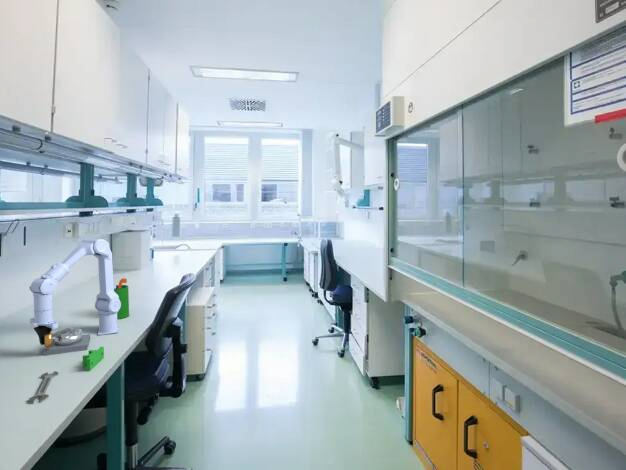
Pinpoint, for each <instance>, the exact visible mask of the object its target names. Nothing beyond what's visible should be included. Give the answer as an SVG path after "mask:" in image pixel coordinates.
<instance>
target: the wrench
mask: <svg viewBox="0 0 626 470" xmlns="http://www.w3.org/2000/svg"><path fill="white" fill-rule="evenodd" d="M57 376H59V372H58V371H55V370H54V371H53V373H49V372H45V373H42V374H41V375H40V378H41V379H43V380H42V382H41V384H40V386H39V388H38V390H37V392H36V394H35V395H33V396H31V397H29V398H28V402H29V404H31V405H32V404H35V401H37V400H39V399H40V402H41V403H43V402H45V401H47V399H49V397H50V396H49V394H47V390H48V388H49V386H50V384H51V382H52V379H53V378H56V377H57Z"/></svg>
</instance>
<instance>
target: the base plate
mask: <svg viewBox="0 0 626 470" xmlns="http://www.w3.org/2000/svg"><path fill="white" fill-rule="evenodd" d="M90 342H91V334H88V333H87V334H82V340H81V341H80V342H78V343H75V344H71V345H65V346H58V345H55V338H52V345H53V346H52V347H50V348H45V347H44V350H43V356H44V357H45V356H51V355H59V354H65V353H73V352H80V351H86V350H88V349H89V345H90Z"/></svg>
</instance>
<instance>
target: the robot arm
mask: <svg viewBox="0 0 626 470" xmlns="http://www.w3.org/2000/svg"><path fill="white" fill-rule="evenodd" d="M91 255H92V256H94V257H96V258H97V259H98V261H97V262H98V281H99V293H97V295H96V297H95V298H96V299H95V303H94V308H95V310H97V313H98V324H99V325H98V326H99V328H98V333H97V335H98V336H100V335H101V336H102V335H109V334H116V333H117V334H118V333H119V327H120V326H119V325H118V319H117V312H118V311H119V309H120V307H121V302H120V300H119V296H118V295H117V294H116V293H115V292H114V289H115V288H114V287H115V286H114V267H113V265H114V264H113V253H112V251H111V248H110V243H109V241H107V240H105V239H103V238H89V237H85V238H83V239H82V240H81V241H80V242H78V243H77V245H76V247H75V248H74V249H73V251H72V252H70V253H69V254H68V255H67V257H66V258H65V259H64V260H63V261H62V262H60V263H55V264H52V265H51V266H50V269H48V270H47V271H46V272H45V273H43V274H42V275H40V277H39V278H36V279H34V280H33V281H32V282H31V284H30V286H29V291H30V292H31V293H32V296H33V314H34V315H33V317H30V318H29V324H30V325H31V326H32V327H33V331H35V333H36V334H37V336H38V341H39V344H40V345H41V346H45V340H44V334H47V333H52V331H53V330H55V329H59V322H57V321H56V320H55V319H54V309H53V307H54V302H53V292H55V291H56V289H57V286H58V284H59V283H60V282H61V281H62V280H63V279H64V278H65V277H66V276H67V275H68V274H69V273H70V268H71V267H73V265H75V264H76V263H77V262H79V261H80V260H81V259H82V258H84V256H91ZM34 326H36V327H34Z"/></svg>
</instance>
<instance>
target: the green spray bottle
mask: <svg viewBox="0 0 626 470" xmlns="http://www.w3.org/2000/svg"><path fill="white" fill-rule="evenodd" d="M127 283H128V278H124V277H123V278H121V279H120V280H119V281H118V284H115V288H114V292H115V293H116V294H117V295H118V296H119V300H120V302H121V307H120V309H119V311H118V312H117V320H123V319H125V318H128V317H129V316H130V301H129V299H130V298H129V285H125V284H127Z"/></svg>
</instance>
